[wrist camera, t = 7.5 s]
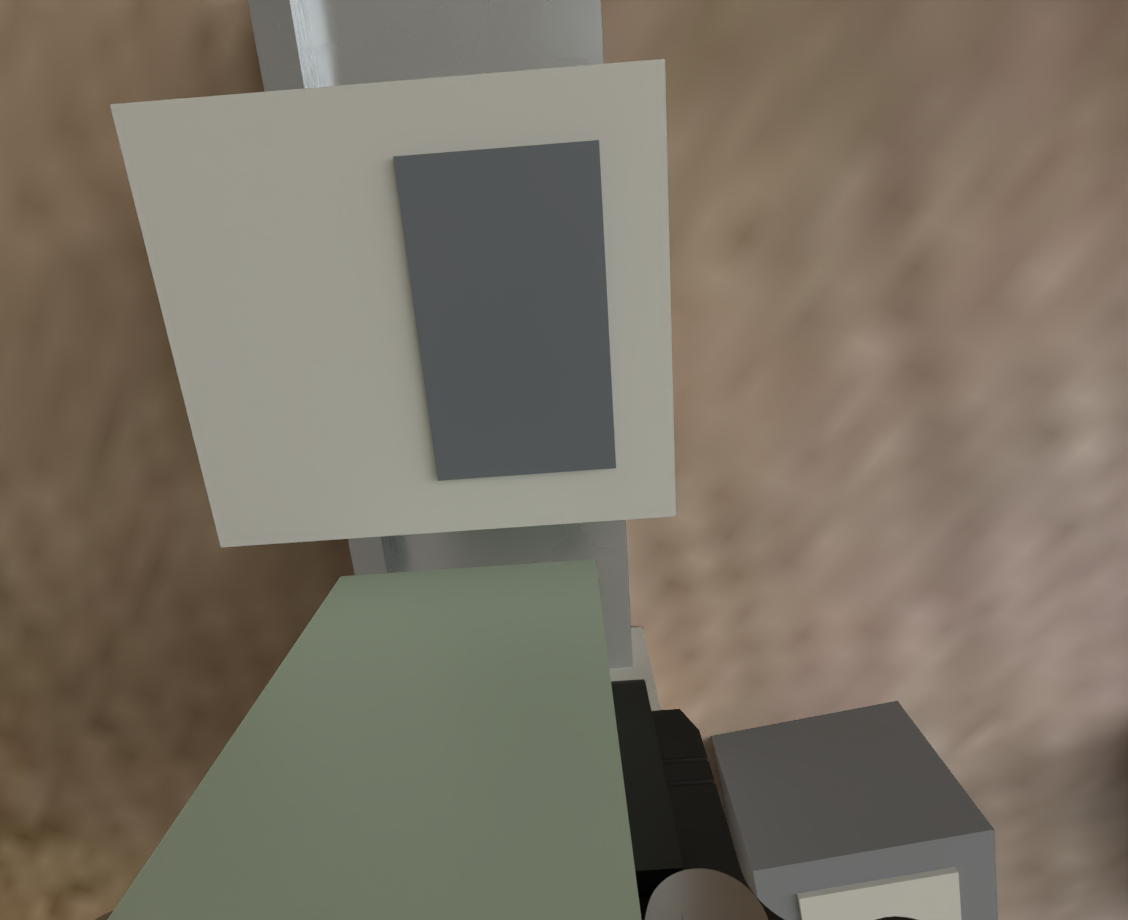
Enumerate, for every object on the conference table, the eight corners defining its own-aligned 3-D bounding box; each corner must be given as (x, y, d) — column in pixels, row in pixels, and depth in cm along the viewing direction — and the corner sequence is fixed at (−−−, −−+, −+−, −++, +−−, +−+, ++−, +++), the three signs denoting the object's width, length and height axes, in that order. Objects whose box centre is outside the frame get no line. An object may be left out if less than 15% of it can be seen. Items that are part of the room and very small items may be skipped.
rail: (591, -38, 15) (599, -108, 12) (639, 893, 23) (650, 983, 20) (296, -13, 15) (232, -76, 12) (448, 904, 23) (433, 995, 20)
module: (594, 559, 11) (675, 1195, 4) (608, 787, 13) (687, 1586, 5) (340, 576, 12) (-111, 1239, 4) (382, 802, 13) (123, 1616, 5)
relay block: (895, 698, 21) (998, 834, 16) (908, 841, 23) (1004, 1003, 18) (710, 733, 21) (754, 876, 16) (737, 870, 23) (784, 1037, 18)
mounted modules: (621, 141, 16) (666, 55, 9) (650, 808, 22) (689, 1056, 15) (297, 167, 16) (103, 102, 9) (414, 823, 22) (348, 1074, 15)
